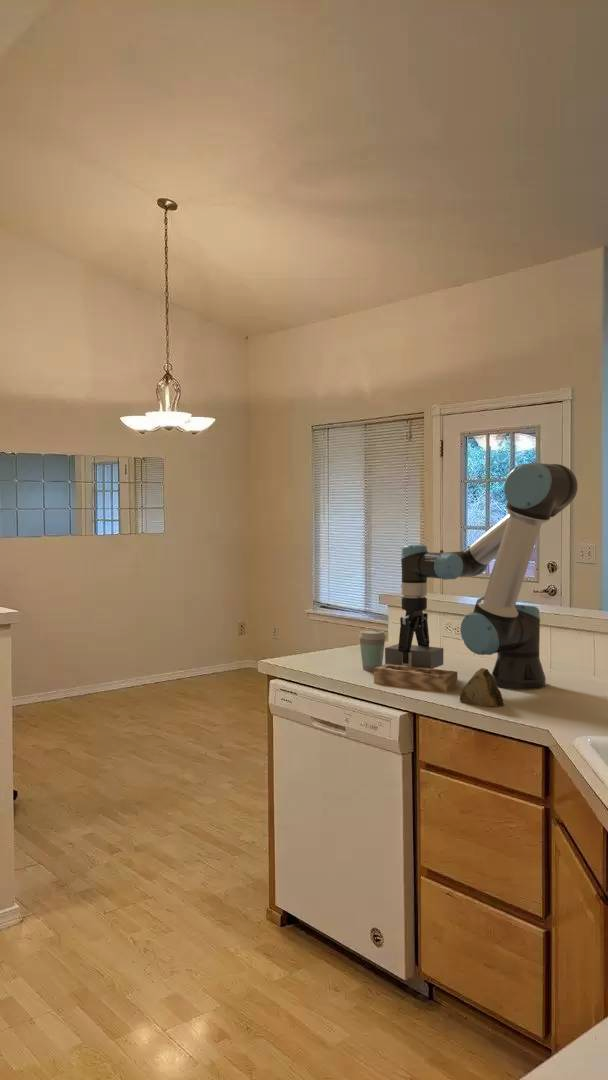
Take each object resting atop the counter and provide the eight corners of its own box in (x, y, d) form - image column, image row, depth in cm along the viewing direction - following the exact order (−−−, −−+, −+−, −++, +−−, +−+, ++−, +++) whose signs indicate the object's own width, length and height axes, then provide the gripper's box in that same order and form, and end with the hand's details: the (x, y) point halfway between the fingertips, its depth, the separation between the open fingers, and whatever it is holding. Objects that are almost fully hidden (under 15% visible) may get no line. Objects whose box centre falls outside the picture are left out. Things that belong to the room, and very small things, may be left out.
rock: (447, 693, 223) (471, 695, 214) (461, 665, 226) (485, 666, 217) (476, 715, 226) (500, 718, 217) (490, 687, 229) (514, 689, 220)
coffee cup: (384, 672, 262) (384, 634, 262) (356, 671, 264) (356, 633, 264) (387, 667, 271) (387, 630, 270) (360, 666, 272) (360, 629, 272)
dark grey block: (443, 676, 255) (443, 648, 255) (430, 681, 248) (430, 652, 248) (398, 671, 264) (398, 643, 263) (385, 675, 256) (385, 647, 256)
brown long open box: (457, 687, 241) (457, 671, 240) (445, 692, 234) (445, 676, 234) (386, 678, 253) (386, 663, 253) (373, 683, 247) (373, 668, 246)
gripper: (418, 592, 266) (418, 664, 267) (385, 599, 248) (386, 676, 249) (440, 593, 262) (440, 666, 263) (409, 600, 244) (409, 678, 245)
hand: (414, 671), depth 256 cm, fingers closed on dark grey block, 9 cm apart
